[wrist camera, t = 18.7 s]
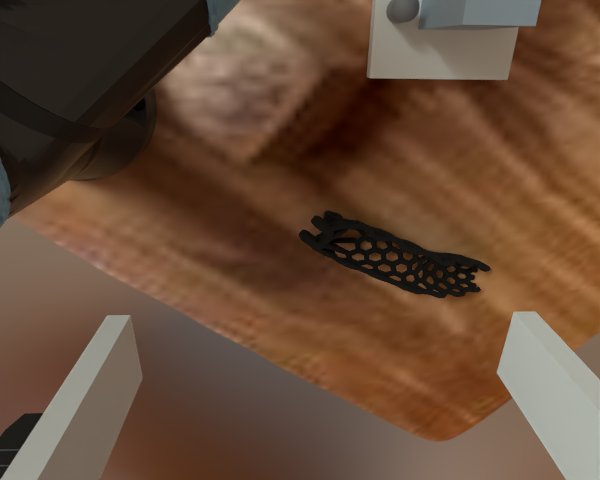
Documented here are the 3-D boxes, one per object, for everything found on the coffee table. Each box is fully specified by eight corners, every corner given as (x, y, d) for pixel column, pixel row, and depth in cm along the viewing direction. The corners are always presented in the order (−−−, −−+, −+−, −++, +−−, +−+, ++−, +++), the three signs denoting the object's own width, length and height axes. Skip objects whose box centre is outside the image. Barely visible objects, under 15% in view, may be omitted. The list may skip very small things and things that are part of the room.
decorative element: (488, 253, 49) (513, 278, 43) (467, 288, 51) (489, 317, 45) (306, 198, 45) (310, 218, 40) (292, 239, 47) (293, 263, 42)
